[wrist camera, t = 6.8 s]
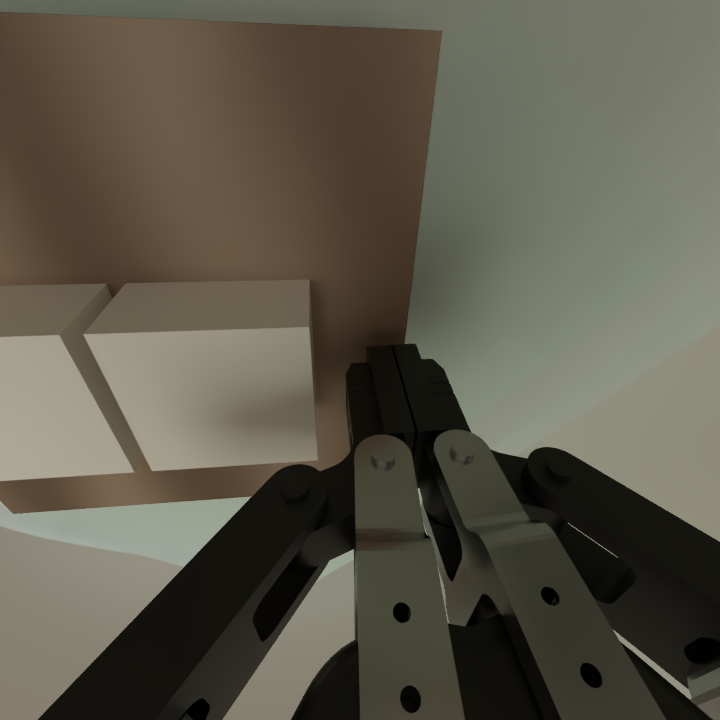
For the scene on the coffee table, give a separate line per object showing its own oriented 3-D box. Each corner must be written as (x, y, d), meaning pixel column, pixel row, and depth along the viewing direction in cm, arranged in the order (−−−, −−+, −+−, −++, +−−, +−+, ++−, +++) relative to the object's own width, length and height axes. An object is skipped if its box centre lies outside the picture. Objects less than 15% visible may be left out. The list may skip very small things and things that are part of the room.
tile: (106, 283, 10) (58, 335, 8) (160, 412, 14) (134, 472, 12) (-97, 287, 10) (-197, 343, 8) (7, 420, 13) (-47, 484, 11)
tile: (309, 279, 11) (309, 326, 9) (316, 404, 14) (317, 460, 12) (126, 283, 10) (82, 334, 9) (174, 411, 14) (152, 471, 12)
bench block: (392, 41, 13) (442, 30, 8) (371, 397, 22) (387, 486, 18) (-154, 20, 11) (-500, -10, 6) (80, 411, 21) (13, 513, 16)
